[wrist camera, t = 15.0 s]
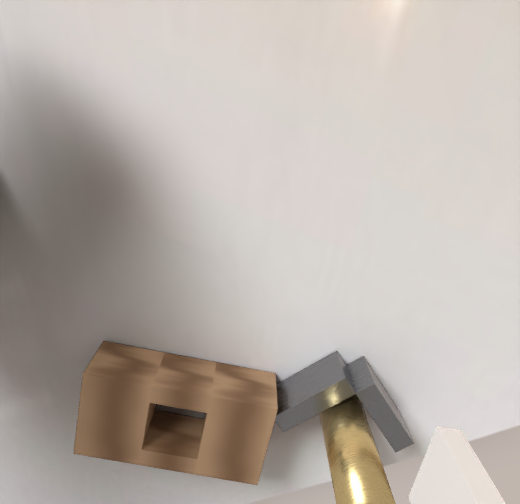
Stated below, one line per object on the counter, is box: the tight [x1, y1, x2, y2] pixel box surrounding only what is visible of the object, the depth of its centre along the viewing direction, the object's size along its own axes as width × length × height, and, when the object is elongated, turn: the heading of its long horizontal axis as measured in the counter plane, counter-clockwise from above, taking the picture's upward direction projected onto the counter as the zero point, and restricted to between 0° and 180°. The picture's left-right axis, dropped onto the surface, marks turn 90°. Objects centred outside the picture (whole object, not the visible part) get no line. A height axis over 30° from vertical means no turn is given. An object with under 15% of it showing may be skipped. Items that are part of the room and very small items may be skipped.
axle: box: [319, 383, 395, 504], centre depth 43 cm, size 4×4×16 cm
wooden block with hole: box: [74, 341, 278, 485], centre depth 48 cm, size 18×9×6 cm, turn 78°
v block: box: [275, 351, 413, 452], centre depth 48 cm, size 14×7×5 cm, turn 78°
